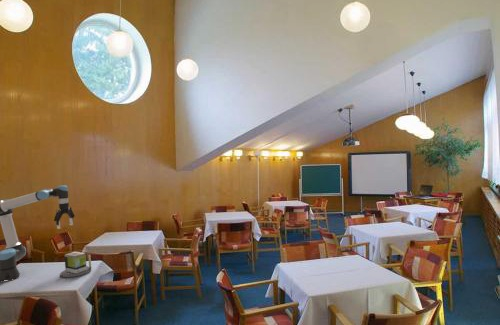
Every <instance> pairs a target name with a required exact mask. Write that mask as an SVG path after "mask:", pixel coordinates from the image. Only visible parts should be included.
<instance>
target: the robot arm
mask: <svg viewBox="0 0 500 325" xmlns="http://www.w3.org/2000/svg"><path fill="white" fill-rule="evenodd" d="M50 198H58V208H59V209H56V213H55V216H54V219H53V221H54V222H55V223H56V229H58V230H60V229H61V221H60V220H61V218H62V217H63V215H65V214H66V215H67V216H68V217H69V219H68V220H69V226H73V225H74V222H73V221H74V218H75V214H74V211H73V210H72V206H70V203H69V187H68V186H67V185H66V184H65V185H58V186H57V187H55V188H43V189H42V190H39V191H36V192H32V193H28V194H25V195H21V196H18V197H14V198H10V199H7V198H6V199H5V198H3V199H0V225H1V229H2V233H3V237H4V239H5V244H6V246H5V248H4V249H3V250H0V281H4V280H11V281H13V280H12V279H14V280H16V279H15V278H17V279H18V277H19V276H20V277H21V275H20V272H19V269H18V267H17V262H18V261H21V259H23V258H24V257H25V255H27V254H26V253H27V249H26V247H25V246H23V244H22V242H21V241H20V240H19V238H18V234H17V230H16V226H15V224H14V220H13V214H14V211H13V210H14V209H15V208H18V207H22V206H25V205H28V204H33V203H35V202H39V201H43V200H46V199H50ZM20 277H19V278H20Z"/></svg>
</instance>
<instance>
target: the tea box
mask: <svg viewBox="0 0 500 325" xmlns="http://www.w3.org/2000/svg"><path fill="white" fill-rule="evenodd" d="M86 266H87V253H86V252H80V251H73V252H68V253H65V254H64V268H65V269H64V271H66V272H71V273H75V274H77V273H80V272H83V271H85V270H87V267H86Z"/></svg>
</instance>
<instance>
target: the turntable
mask: <svg viewBox="0 0 500 325" xmlns="http://www.w3.org/2000/svg"><path fill="white" fill-rule="evenodd" d="M91 255H92V254H88V266H87V265H86V267H87V270H85V271H83V272H80V273H77V274H75V273H71V272H66V271H65V270H62V271H60V274H59V276H60V277H61V278H63V279H71V278H78V277H81V276H84V275H87V274H89V273H90V272H92V258H91V257H92V256H91Z"/></svg>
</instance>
